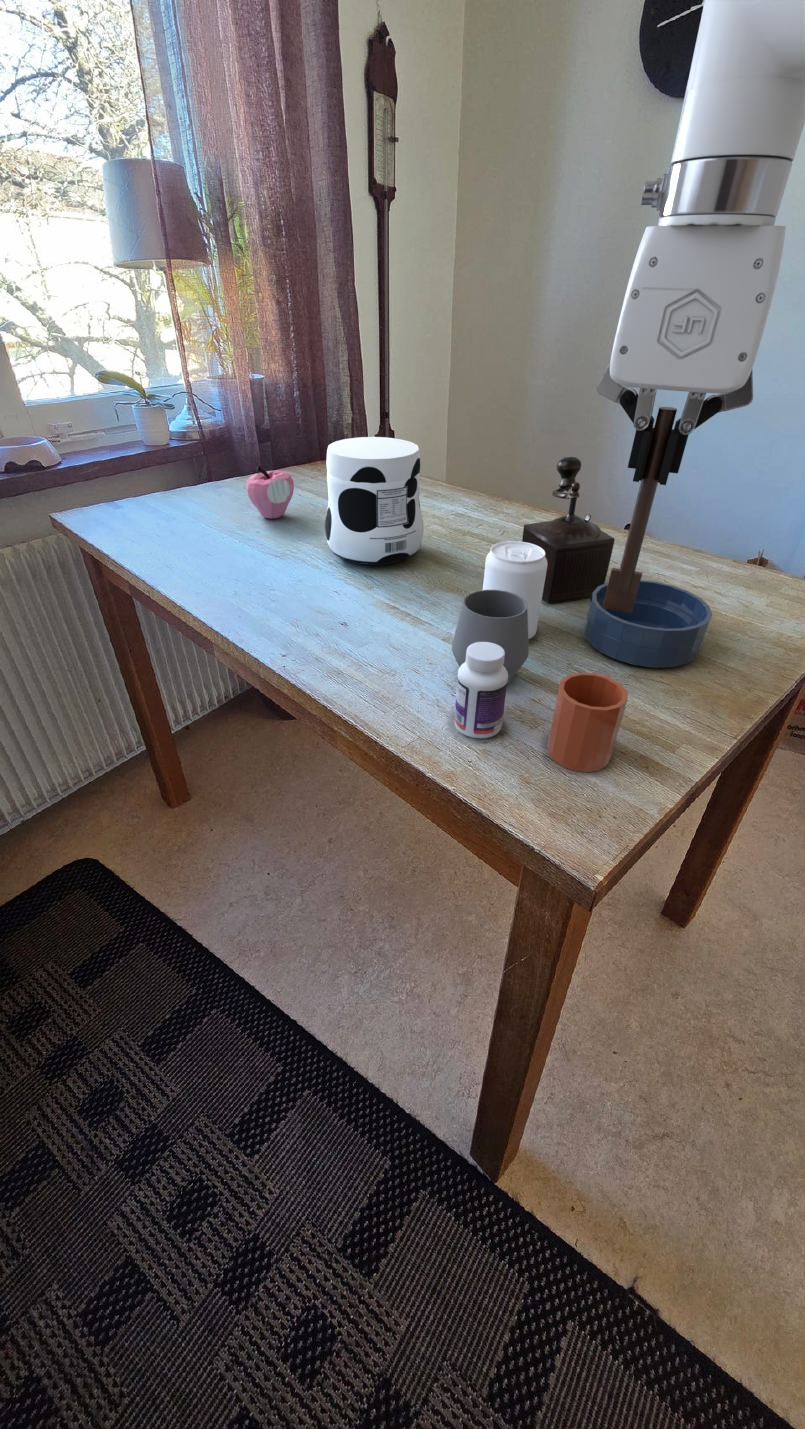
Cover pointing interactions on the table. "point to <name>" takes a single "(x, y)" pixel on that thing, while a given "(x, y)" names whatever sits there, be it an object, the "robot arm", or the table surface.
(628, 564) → the stirring stick
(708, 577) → the table surface
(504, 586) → the beverage can
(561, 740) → the utensil pot
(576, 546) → the manual coffee grinder
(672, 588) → the bowl
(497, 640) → the cup
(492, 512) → the table surface
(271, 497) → the apple
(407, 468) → the milk container
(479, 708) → the pill bottle
